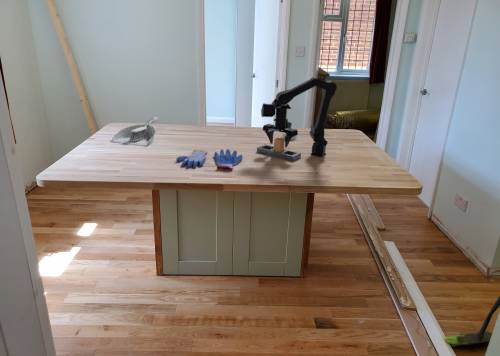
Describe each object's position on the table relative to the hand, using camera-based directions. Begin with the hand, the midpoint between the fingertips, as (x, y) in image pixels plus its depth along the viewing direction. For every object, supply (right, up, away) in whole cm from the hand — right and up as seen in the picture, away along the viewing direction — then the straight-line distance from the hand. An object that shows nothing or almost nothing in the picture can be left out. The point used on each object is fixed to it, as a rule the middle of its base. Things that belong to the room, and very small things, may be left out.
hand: (278, 145), depth 209 cm
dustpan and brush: (-79, +7, +23) cm, 82 cm away
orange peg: (0, -5, +2) cm, 5 cm away
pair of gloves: (-36, -9, -12) cm, 39 cm away
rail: (0, -5, +2) cm, 5 cm away
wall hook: (+9, +8, +35) cm, 37 cm away
